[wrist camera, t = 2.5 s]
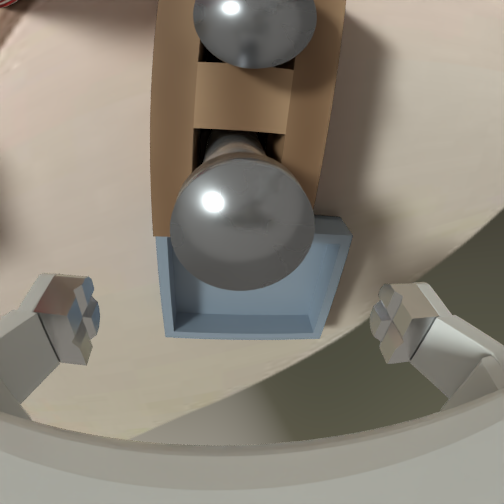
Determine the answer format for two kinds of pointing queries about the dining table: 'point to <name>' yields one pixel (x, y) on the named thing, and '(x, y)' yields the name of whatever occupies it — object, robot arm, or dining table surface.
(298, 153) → the block
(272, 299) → the tray
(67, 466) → the robot arm
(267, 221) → the steel pin
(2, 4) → the soda can
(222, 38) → the short pin
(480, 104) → the dining table surface
